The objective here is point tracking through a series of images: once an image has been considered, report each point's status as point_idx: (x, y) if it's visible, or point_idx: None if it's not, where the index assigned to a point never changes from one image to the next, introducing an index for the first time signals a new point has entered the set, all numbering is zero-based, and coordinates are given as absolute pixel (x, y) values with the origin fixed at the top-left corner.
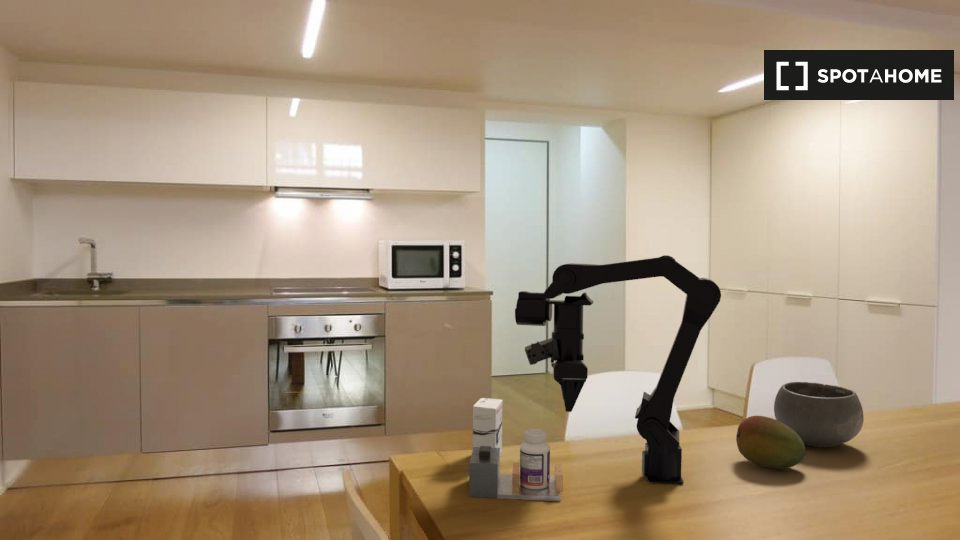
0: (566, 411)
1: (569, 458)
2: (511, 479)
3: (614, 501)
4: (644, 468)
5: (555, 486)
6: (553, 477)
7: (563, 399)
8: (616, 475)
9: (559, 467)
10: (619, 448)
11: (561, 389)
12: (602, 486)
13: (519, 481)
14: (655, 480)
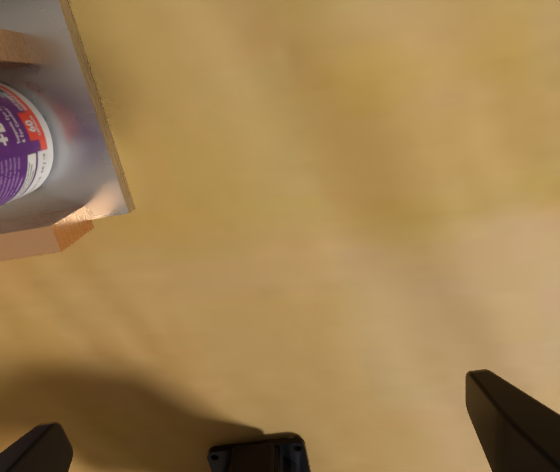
0: (41, 425)
1: (390, 222)
2: (6, 28)
3: (39, 373)
4: (231, 466)
5: (4, 220)
6: (107, 198)
7: (468, 373)
8: (249, 373)
9: (15, 249)
10: (532, 376)
11: (538, 444)
12: (139, 341)
13: (1, 70)
14: (213, 466)
